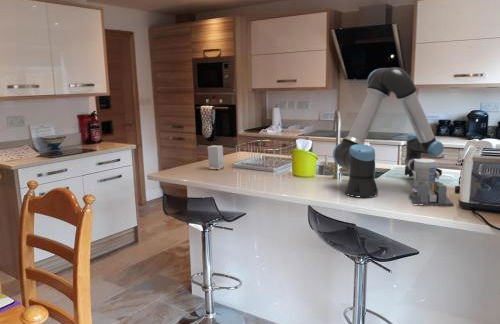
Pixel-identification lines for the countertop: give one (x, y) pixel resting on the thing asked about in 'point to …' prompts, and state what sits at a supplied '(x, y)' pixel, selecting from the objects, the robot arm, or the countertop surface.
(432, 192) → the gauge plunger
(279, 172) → the countertop surface
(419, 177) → the supplement tub
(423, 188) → the grey notched block
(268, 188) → the countertop surface
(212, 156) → the skincare box
